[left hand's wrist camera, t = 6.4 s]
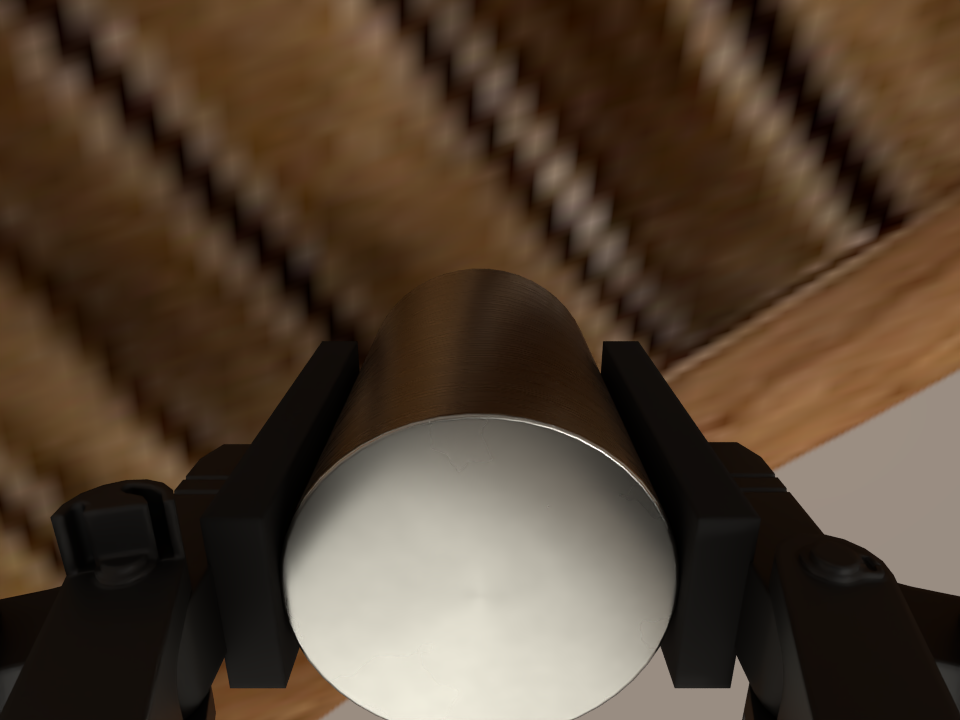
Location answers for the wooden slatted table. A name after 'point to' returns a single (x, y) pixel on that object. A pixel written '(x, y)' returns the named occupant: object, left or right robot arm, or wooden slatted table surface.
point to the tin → (479, 519)
